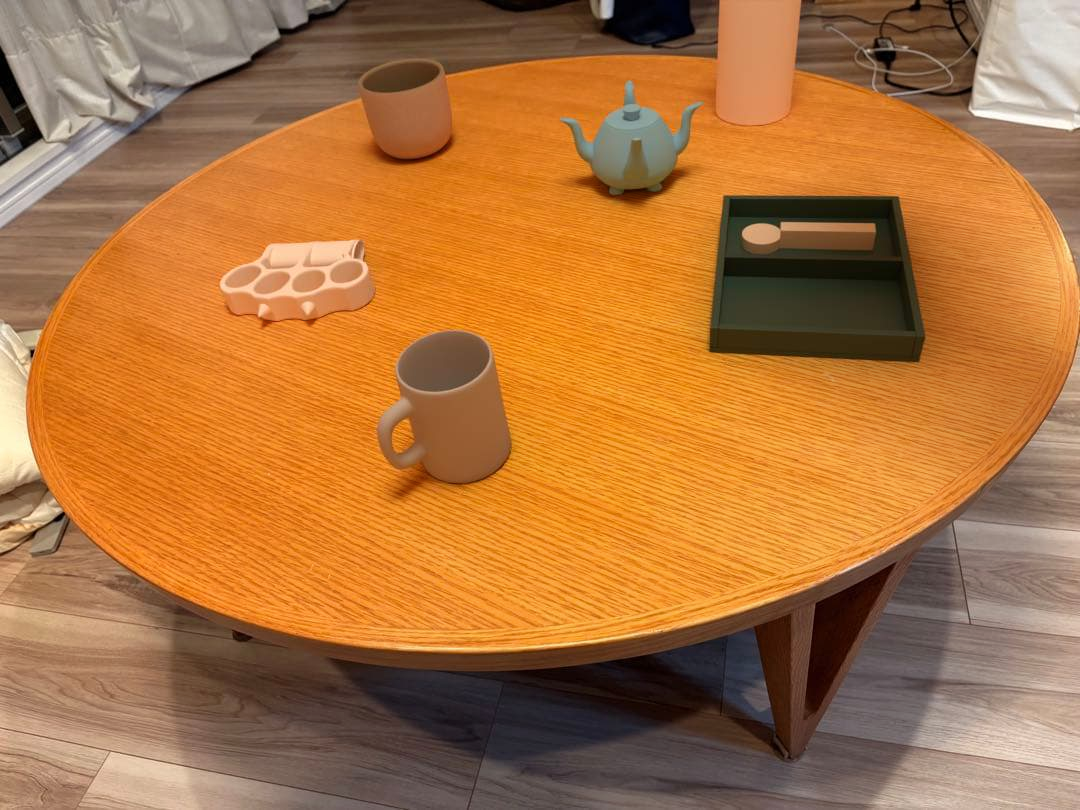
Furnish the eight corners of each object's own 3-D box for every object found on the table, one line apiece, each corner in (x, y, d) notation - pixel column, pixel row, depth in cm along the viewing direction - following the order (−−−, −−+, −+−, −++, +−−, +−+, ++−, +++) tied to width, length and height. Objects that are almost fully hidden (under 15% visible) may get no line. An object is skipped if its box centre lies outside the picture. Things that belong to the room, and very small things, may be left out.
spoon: (870, 235, 93) (874, 216, 91) (873, 257, 90) (877, 238, 88) (741, 233, 96) (743, 215, 95) (740, 254, 93) (741, 235, 91)
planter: (414, 123, 130) (398, 53, 123) (474, 136, 124) (461, 64, 117) (359, 157, 124) (339, 86, 116) (420, 173, 118) (402, 99, 110)
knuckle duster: (391, 253, 103) (362, 326, 92) (256, 260, 105) (213, 331, 95) (384, 230, 100) (354, 301, 90) (246, 237, 103) (202, 308, 92)
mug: (473, 405, 80) (452, 316, 73) (530, 447, 75) (514, 356, 68) (372, 473, 75) (339, 384, 68) (426, 523, 70) (397, 433, 63)
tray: (893, 219, 96) (898, 195, 94) (919, 362, 78) (925, 336, 76) (722, 217, 100) (723, 194, 98) (709, 352, 82) (710, 327, 80)
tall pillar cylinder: (748, 88, 126) (759, -97, 109) (805, 106, 119) (827, -89, 102) (700, 113, 122) (704, -77, 105) (757, 132, 115) (772, -66, 98)
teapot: (703, 175, 108) (705, 100, 101) (635, 217, 102) (633, 141, 96) (630, 149, 116) (628, 77, 109) (564, 187, 110) (557, 114, 103)
